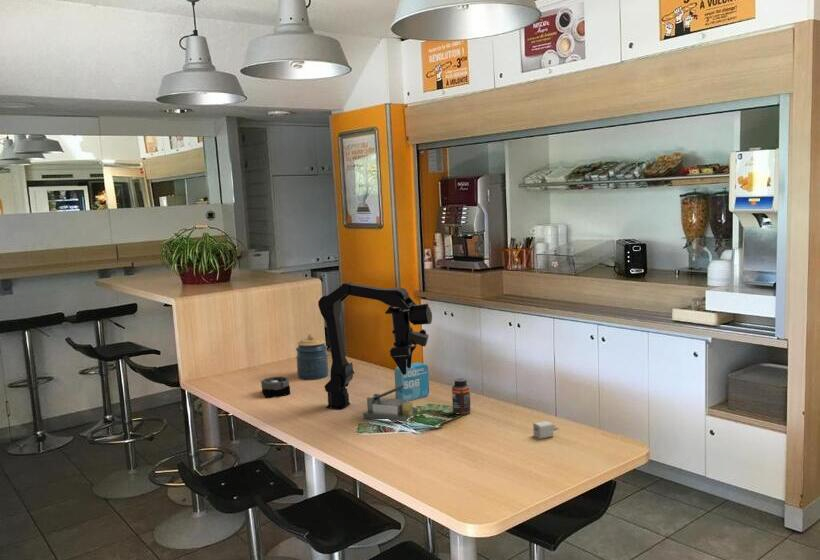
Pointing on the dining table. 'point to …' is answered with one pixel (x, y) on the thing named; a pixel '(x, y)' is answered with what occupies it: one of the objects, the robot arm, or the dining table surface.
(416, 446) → the dining table surface
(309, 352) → the canister
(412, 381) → the data package
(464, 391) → the supplement bottle
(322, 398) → the dining table surface
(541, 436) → the usb wall charger
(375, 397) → the dark grey bar
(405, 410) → the heatsink
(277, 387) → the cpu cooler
